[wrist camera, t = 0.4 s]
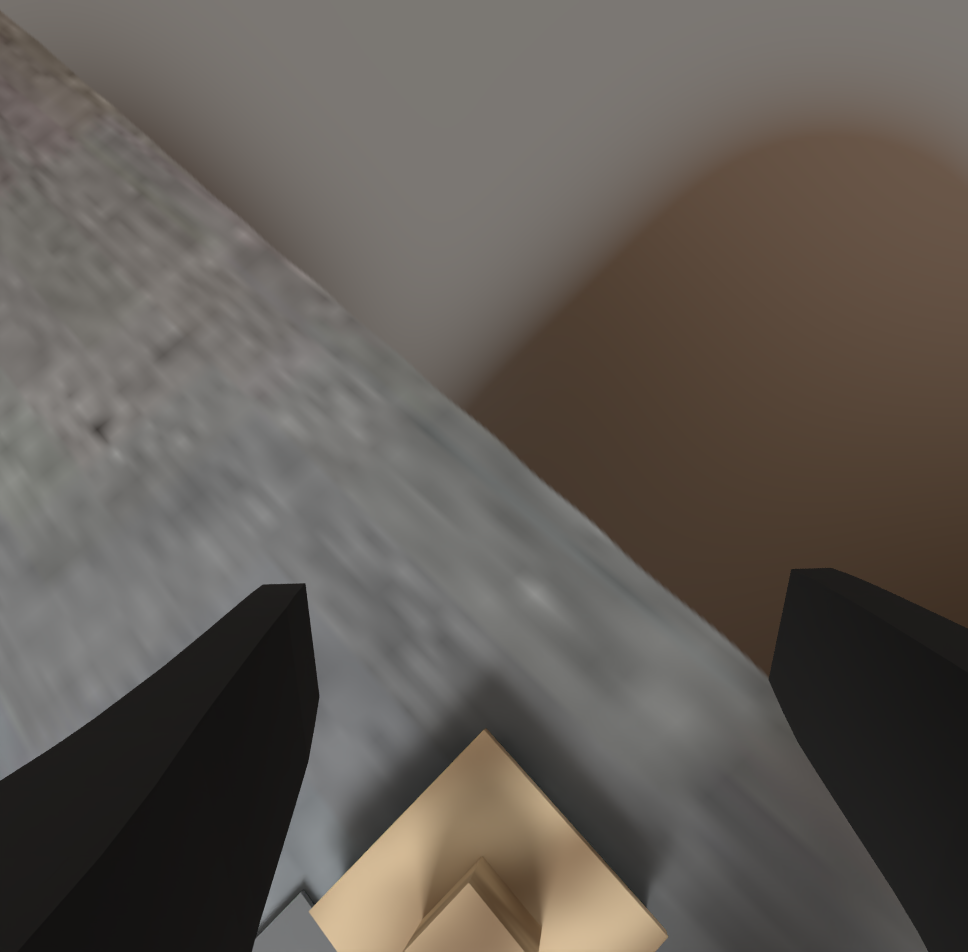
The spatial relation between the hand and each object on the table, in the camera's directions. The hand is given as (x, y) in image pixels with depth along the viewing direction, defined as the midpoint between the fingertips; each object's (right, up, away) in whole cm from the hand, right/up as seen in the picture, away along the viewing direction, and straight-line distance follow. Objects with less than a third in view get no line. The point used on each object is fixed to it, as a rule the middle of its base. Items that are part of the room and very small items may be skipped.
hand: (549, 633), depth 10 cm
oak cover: (-1, -19, +21) cm, 28 cm away
